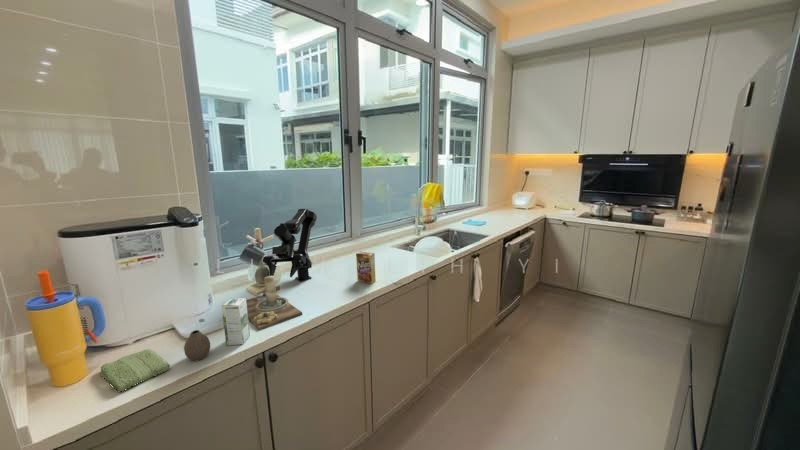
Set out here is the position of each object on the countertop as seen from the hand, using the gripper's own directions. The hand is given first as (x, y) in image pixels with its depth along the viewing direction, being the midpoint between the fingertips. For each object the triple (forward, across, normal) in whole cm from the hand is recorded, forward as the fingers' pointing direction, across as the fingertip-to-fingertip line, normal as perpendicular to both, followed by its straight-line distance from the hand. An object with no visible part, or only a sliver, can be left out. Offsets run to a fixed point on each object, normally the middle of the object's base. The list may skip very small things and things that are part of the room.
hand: (280, 277), depth 136 cm
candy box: (-6, +32, +28) cm, 43 cm away
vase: (+36, -7, -26) cm, 45 cm away
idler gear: (+13, -1, 0) cm, 13 cm away
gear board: (+14, -3, -1) cm, 15 cm away
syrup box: (+30, 0, -18) cm, 35 cm away
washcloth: (+40, -21, -32) cm, 56 cm away
